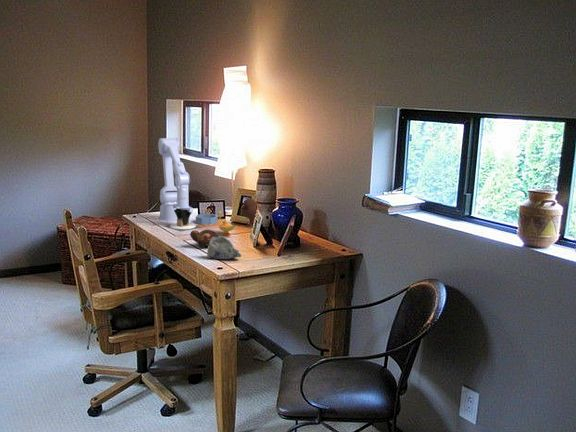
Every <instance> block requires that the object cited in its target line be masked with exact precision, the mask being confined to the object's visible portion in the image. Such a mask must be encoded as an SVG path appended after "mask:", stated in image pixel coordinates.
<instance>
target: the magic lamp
mask: <svg viewBox="0 0 576 432" xmlns="http://www.w3.org/2000/svg"><path fill="white" fill-rule="evenodd" d="M218 213H219V216H218V220H219V222H220V223H219V224H221V225H219V227H218V228H219V230H221V231H222V232H223V233H220V236H223V237H224V236H226V237H229V236H230V237H231V236H232V233H230V232H231V231H233V230H235V228H237V227H238V226H239V225H238V224H235V225H233V224H230V223H228V221H227V219H224V220H222V217H221V215H222V214H223V211H221V210H219V211H218Z"/></svg>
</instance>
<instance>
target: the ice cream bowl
mask: <svg viewBox="0 0 576 432" xmlns="http://www.w3.org/2000/svg"><path fill="white" fill-rule="evenodd" d="M256 203H257V202H256V201H255V199H253V198H249V197H248V198H246V199H245V200H244V201H243V207H241V208H240V211H241V213H242V215H243V216H244V218H246V219H248V220H249V223H247V224H246V225H245V227H246V228H253V227H252V223H253V224H254V219H255V218H254V217H255V214H256Z"/></svg>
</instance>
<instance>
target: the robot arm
mask: <svg viewBox="0 0 576 432" xmlns="http://www.w3.org/2000/svg"><path fill="white" fill-rule="evenodd" d="M180 144H181V143H180V140H179V138H178V137H173V138H172V137H171V138H170V137H168V138H166V137H165V138H163V137H162V138H161V137H160V138H159V140H158V145H157V146H158V154H159V155H161V156H162V157H161V158H162V163H163V164H162V165H163V178H164V179H163V180H164V186H163V187H162V188H161V189H160V191H159V201H160V203H161V205H160V207H159V218H158V220H159V221H165V222H167V223H168V222H169V223H170V222H177V219H180V218H183V225H186V224H188V220H189V221H190V216H191V215H192V213H194V208H193V207H191V206H190V205H189V185H190V184H191V177H190V174H189V173H188V172H187V171H186V168H185V164H184V163H183V162H182V161H181V159H180V154H179V149H180ZM174 176H175V177H174Z"/></svg>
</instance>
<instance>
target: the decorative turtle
mask: <svg viewBox="0 0 576 432" xmlns="http://www.w3.org/2000/svg"><path fill="white" fill-rule="evenodd" d="M189 236H190V238H191V239H192V240H193V241H194V242H196V244H197V245H198V246H199V248H200V249H204V247H205V246H207V247H208V246H209V242H210V240H211V238H212V237H218V236H220V234H219V233H218V232H216V231H214V230H212V229H203V230H201V231H198V230H197V229H193V230H191V232H190V235H189Z"/></svg>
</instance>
